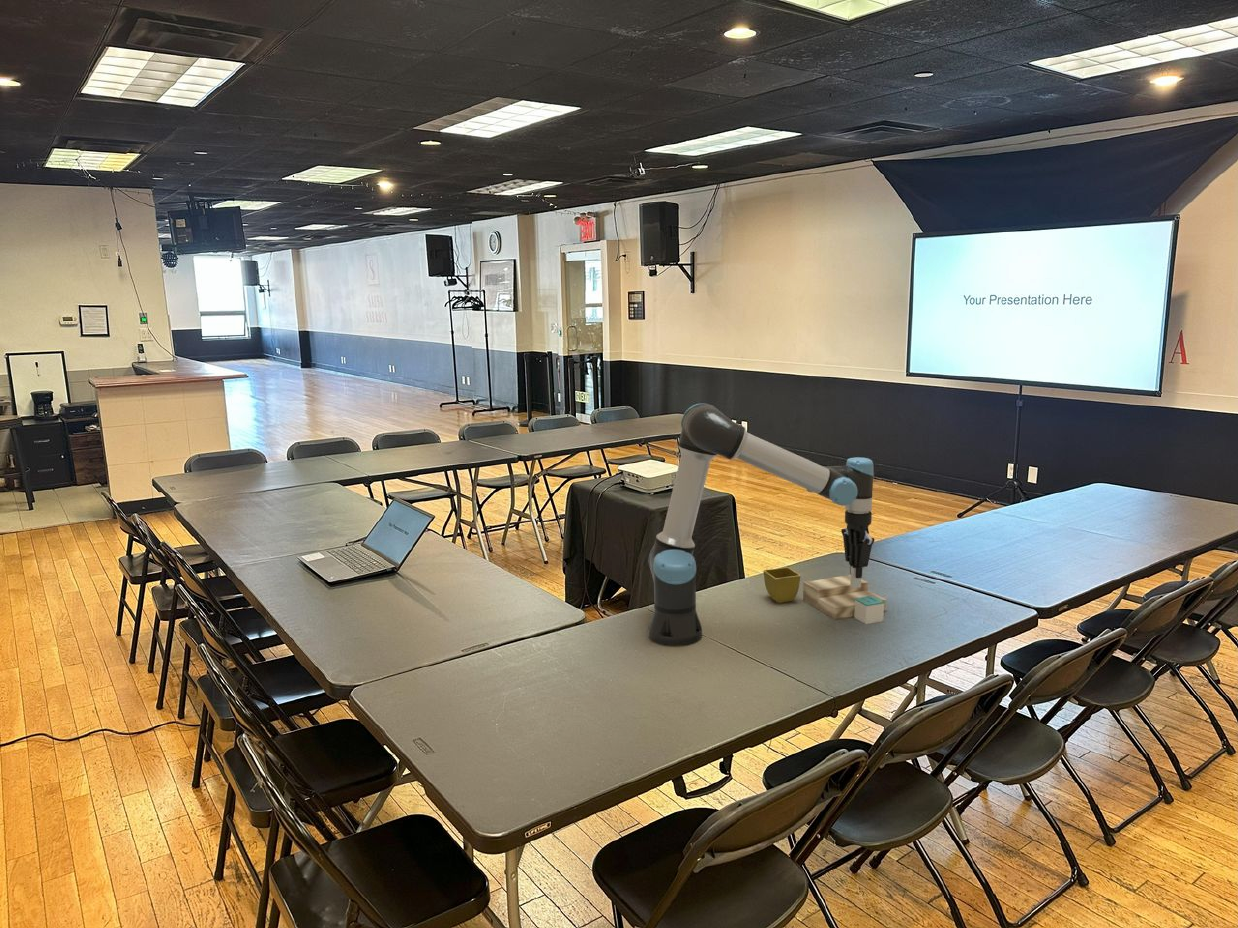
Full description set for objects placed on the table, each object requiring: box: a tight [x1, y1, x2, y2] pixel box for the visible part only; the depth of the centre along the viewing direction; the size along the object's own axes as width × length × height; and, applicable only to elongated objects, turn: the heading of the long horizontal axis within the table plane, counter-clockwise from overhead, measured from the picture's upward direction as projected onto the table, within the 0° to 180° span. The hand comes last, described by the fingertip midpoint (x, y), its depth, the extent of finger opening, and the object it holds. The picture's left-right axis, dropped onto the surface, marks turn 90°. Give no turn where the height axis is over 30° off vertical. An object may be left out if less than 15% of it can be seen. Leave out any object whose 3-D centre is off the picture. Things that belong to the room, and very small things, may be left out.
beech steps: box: [802, 574, 887, 620], centre depth 244 cm, size 18×17×6 cm
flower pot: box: [762, 566, 801, 604], centre depth 250 cm, size 9×9×9 cm
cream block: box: [853, 596, 885, 625], centre depth 233 cm, size 6×6×6 cm
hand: (855, 587), depth 238 cm, fingers closed
